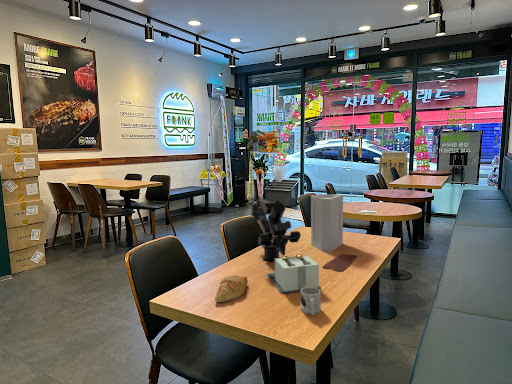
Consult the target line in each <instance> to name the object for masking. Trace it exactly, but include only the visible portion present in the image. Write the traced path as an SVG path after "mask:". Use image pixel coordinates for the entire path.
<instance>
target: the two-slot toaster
mask: <svg viewBox="0 0 512 384" xmlns="http://www.w3.org/2000/svg"><path fill="white" fill-rule="evenodd" d="M274 260H275V262H274V273H275V281H276V282H277V283H278V284H279V286H280V287H281V288H282V289H283V291H292V290H300V289H302V288H305V287H315V288H316V287H319V286H320V275H319V274H320V273H319V272H320V268H319V267H320V264H319V263H318V262H316V260H314V259H313V258H311V257H310V256H309V255H307V254H306V255H305V254H304V255H303V258H301V260H300V259H299V258H297V255H295V256H288V259H286V262H287V263H286V262H285V261H284V260H283V259H282V257H280V258H276V259H274Z"/></svg>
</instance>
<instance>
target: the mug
mask: <svg viewBox="0 0 512 384" xmlns="http://www.w3.org/2000/svg"><path fill="white" fill-rule="evenodd" d="M321 293H322V292H321V289H318V288H315V287H305V288H302V289H301V291H300V311H301V312H302V313H304V314H306V315H312V316H315V315H317V314H319V313H320V312H321V309H322V308H321V306H322V305H321V304H322V303H321V302H322V301H321Z"/></svg>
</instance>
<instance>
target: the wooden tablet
mask: <svg viewBox="0 0 512 384" xmlns="http://www.w3.org/2000/svg"><path fill="white" fill-rule="evenodd" d="M357 258H358V255H356V254H350V253H341V254H339V255H337V256H335V257H333V258H332V259H331V260H329V261H327V262H326V263H325V264H323V266H322V269H323V270H331V271H334V272H339V273H342V272H344V271H345V270H346V269H348V268H349V267H350V266H351V265H352V264H353V263H354V262H355V260H357Z"/></svg>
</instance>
